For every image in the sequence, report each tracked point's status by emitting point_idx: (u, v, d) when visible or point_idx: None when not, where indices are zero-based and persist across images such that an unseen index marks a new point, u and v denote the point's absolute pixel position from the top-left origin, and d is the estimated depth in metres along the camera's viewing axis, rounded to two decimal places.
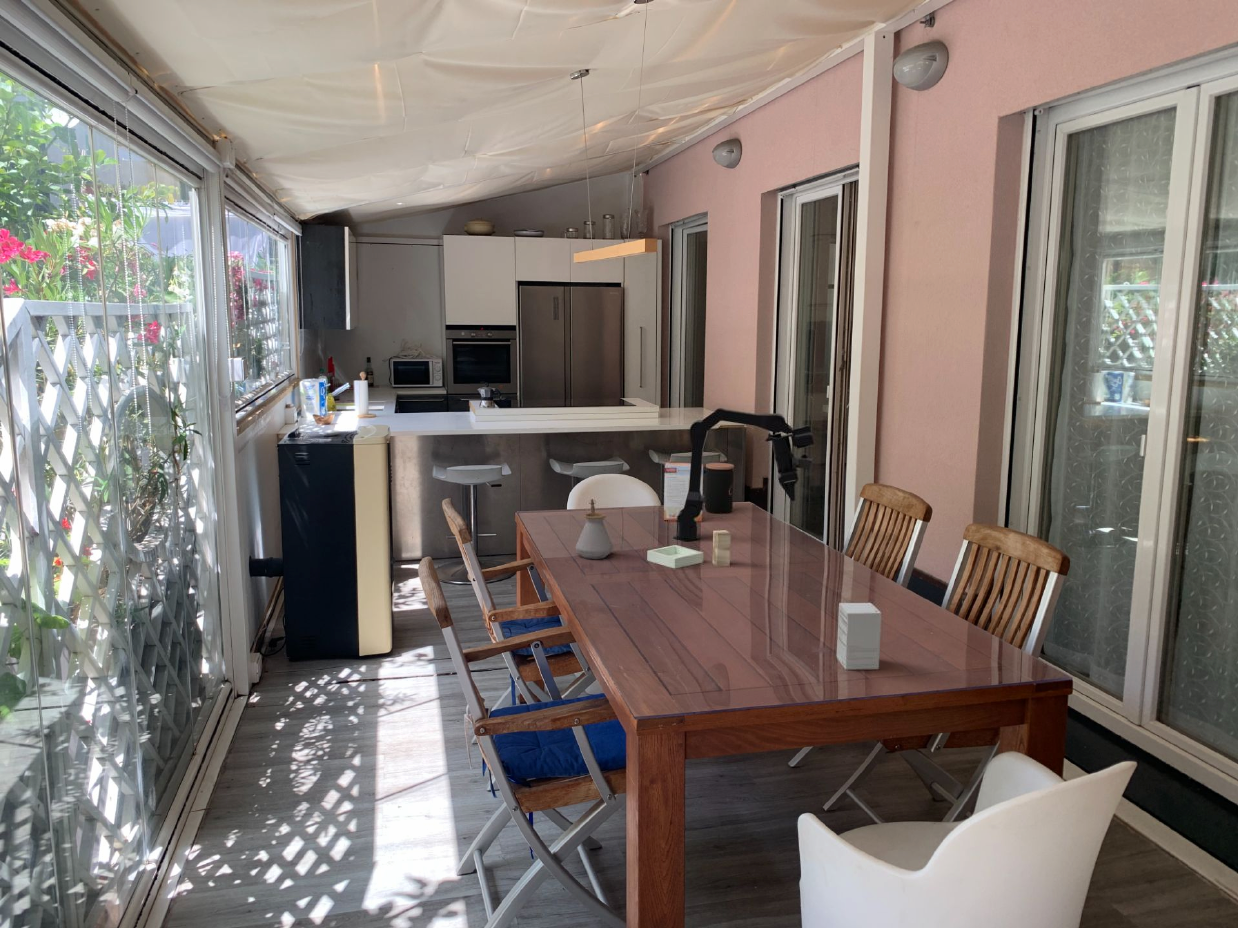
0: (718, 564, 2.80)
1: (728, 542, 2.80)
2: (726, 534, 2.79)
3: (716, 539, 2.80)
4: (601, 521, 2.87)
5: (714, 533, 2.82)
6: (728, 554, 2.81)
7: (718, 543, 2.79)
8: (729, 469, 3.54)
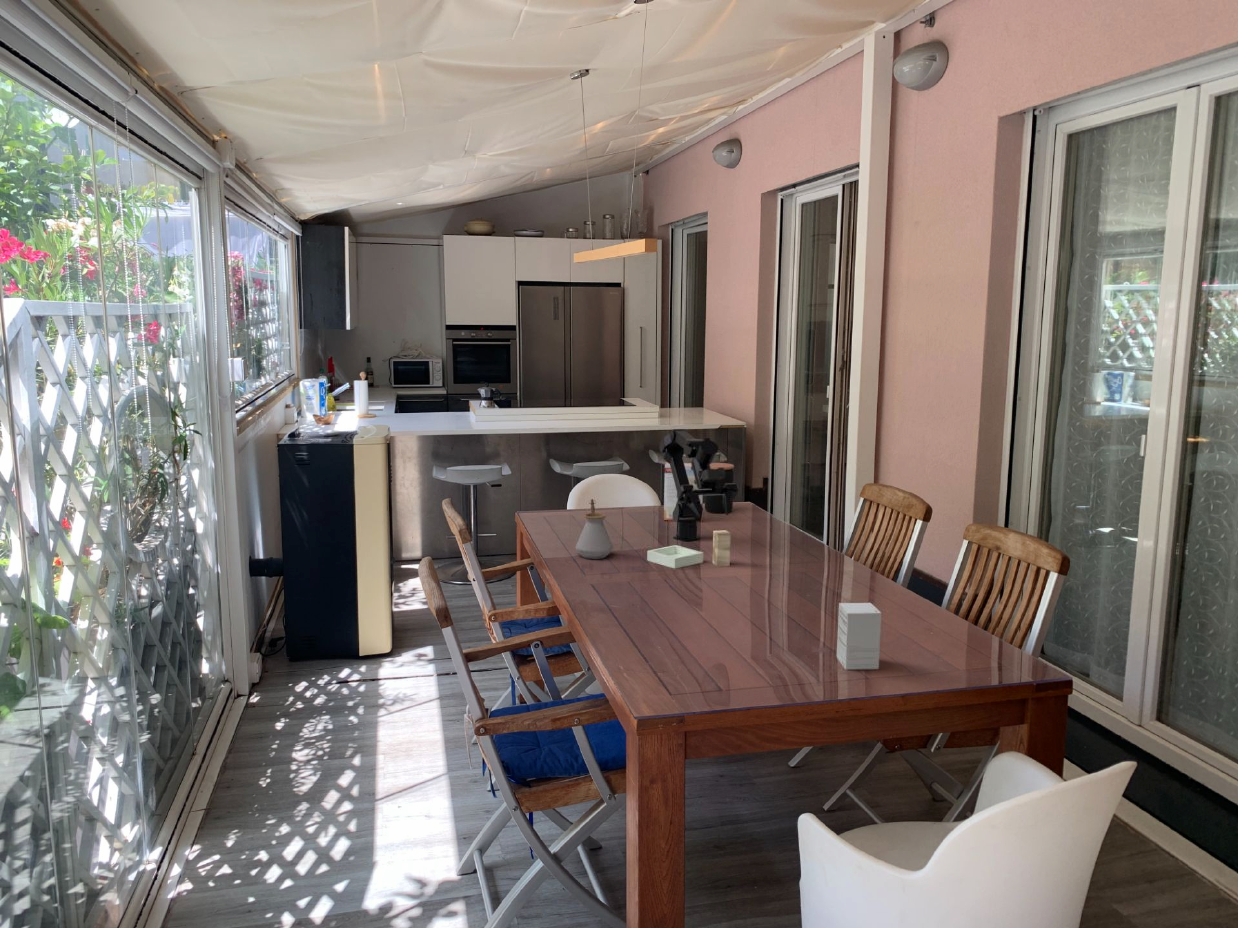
0: (718, 564, 2.80)
1: (728, 542, 2.80)
2: (726, 534, 2.79)
3: (716, 539, 2.80)
4: (601, 521, 2.87)
5: (714, 533, 2.82)
6: (728, 554, 2.81)
7: (718, 543, 2.79)
8: (729, 469, 3.54)
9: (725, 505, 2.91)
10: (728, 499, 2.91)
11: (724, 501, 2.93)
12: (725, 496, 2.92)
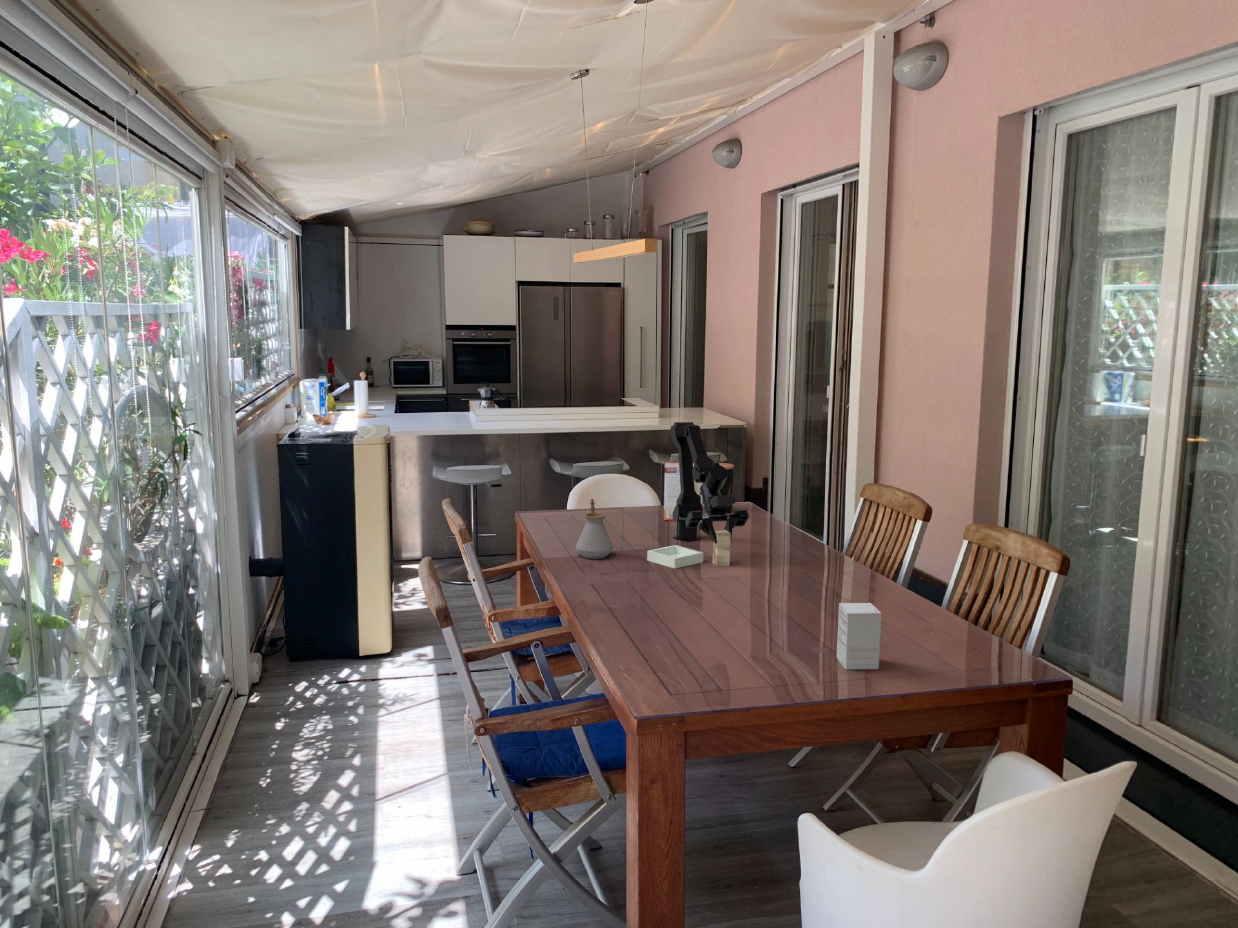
0: (718, 564, 2.80)
1: (728, 542, 2.80)
2: (726, 534, 2.79)
3: None
4: (601, 521, 2.87)
5: None
6: (728, 554, 2.81)
7: (718, 543, 2.79)
8: (729, 469, 3.54)
9: None
10: (730, 526, 2.82)
11: (726, 528, 2.84)
12: (727, 523, 2.84)
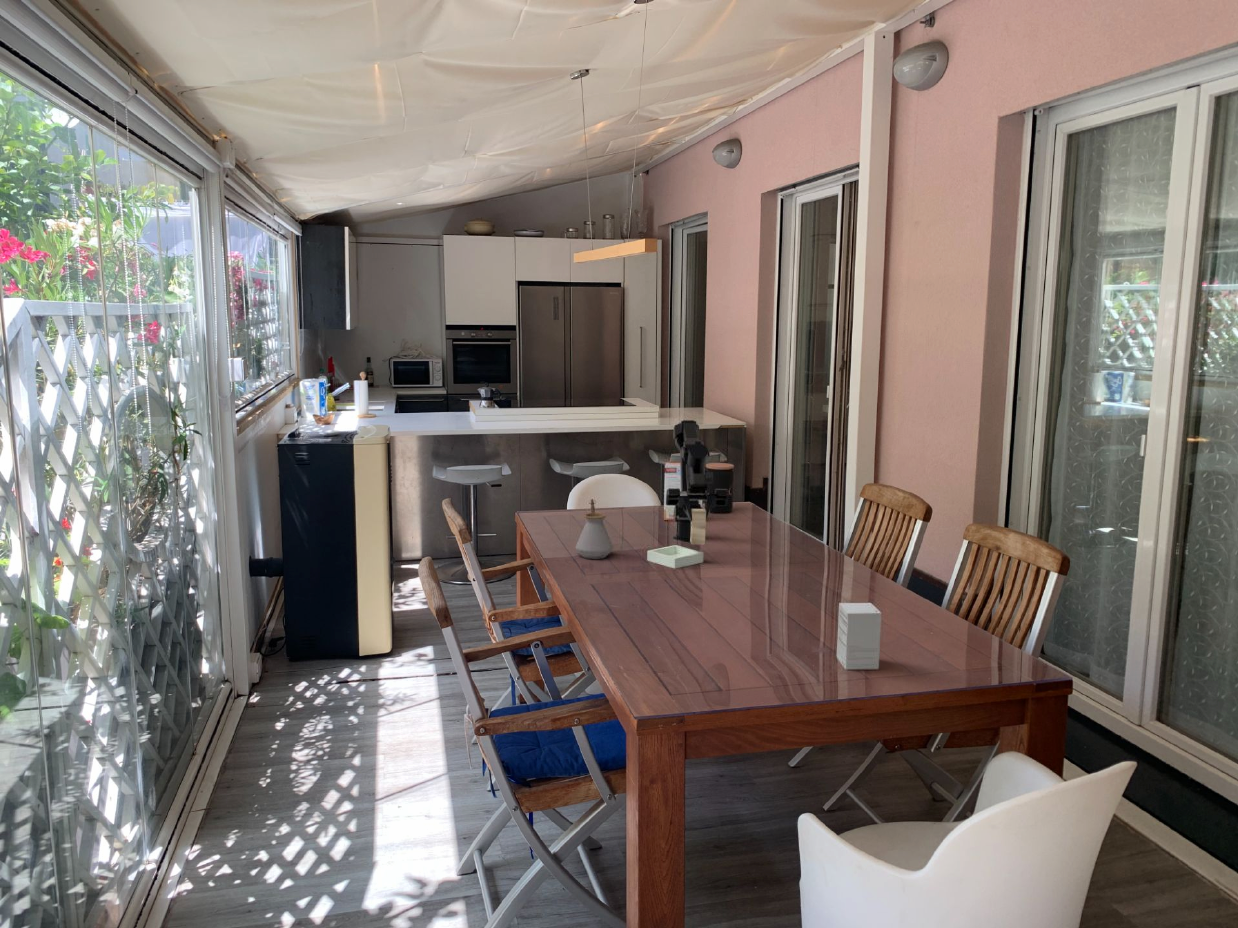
0: (693, 542, 2.81)
1: (703, 520, 2.80)
2: (701, 512, 2.79)
3: (692, 517, 2.80)
4: (601, 521, 2.87)
5: (691, 511, 2.82)
6: (703, 533, 2.80)
7: (693, 521, 2.80)
8: (729, 469, 3.54)
9: None
10: (708, 505, 2.82)
11: (705, 507, 2.84)
12: (706, 502, 2.83)
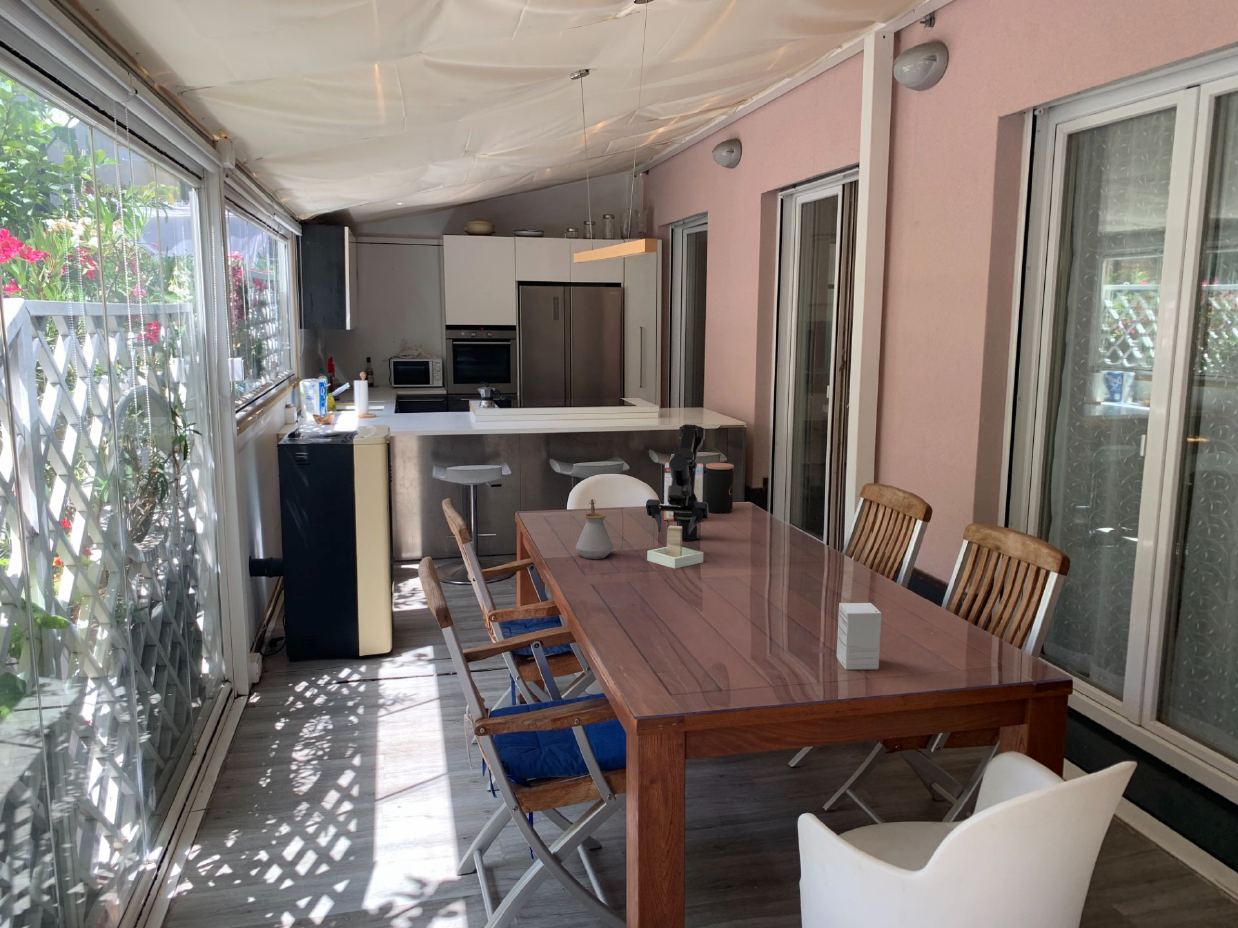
0: None
1: (678, 538, 2.82)
2: (676, 530, 2.81)
3: None
4: (601, 521, 2.87)
5: None
6: (678, 550, 2.82)
7: (668, 538, 2.82)
8: (729, 469, 3.54)
9: None
10: (692, 518, 2.83)
11: None
12: (692, 514, 2.84)
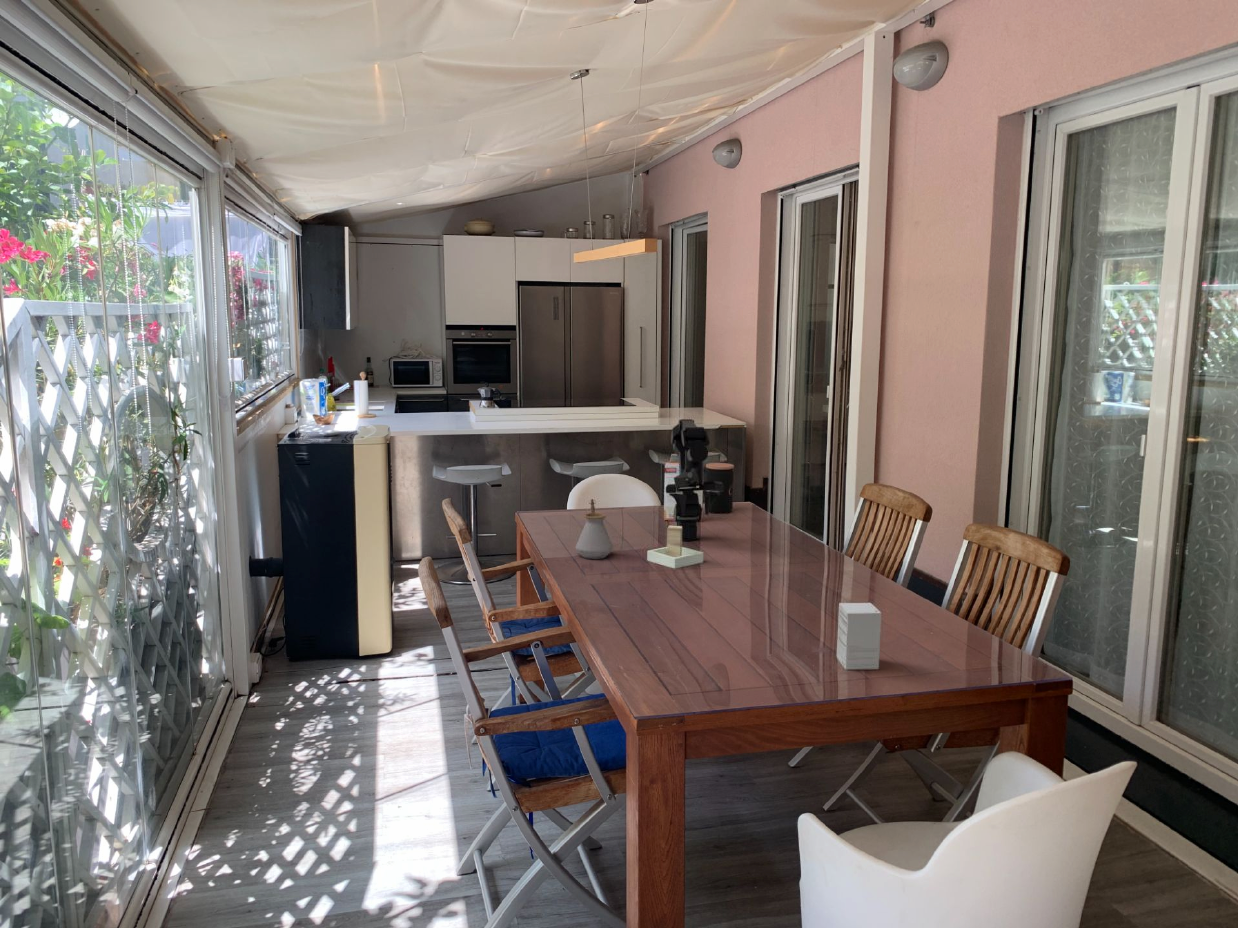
0: None
1: (678, 538, 2.82)
2: (676, 530, 2.81)
3: None
4: (601, 521, 2.87)
5: None
6: (678, 550, 2.82)
7: (668, 538, 2.82)
8: (729, 469, 3.54)
9: None
10: (706, 499, 2.91)
11: None
12: None
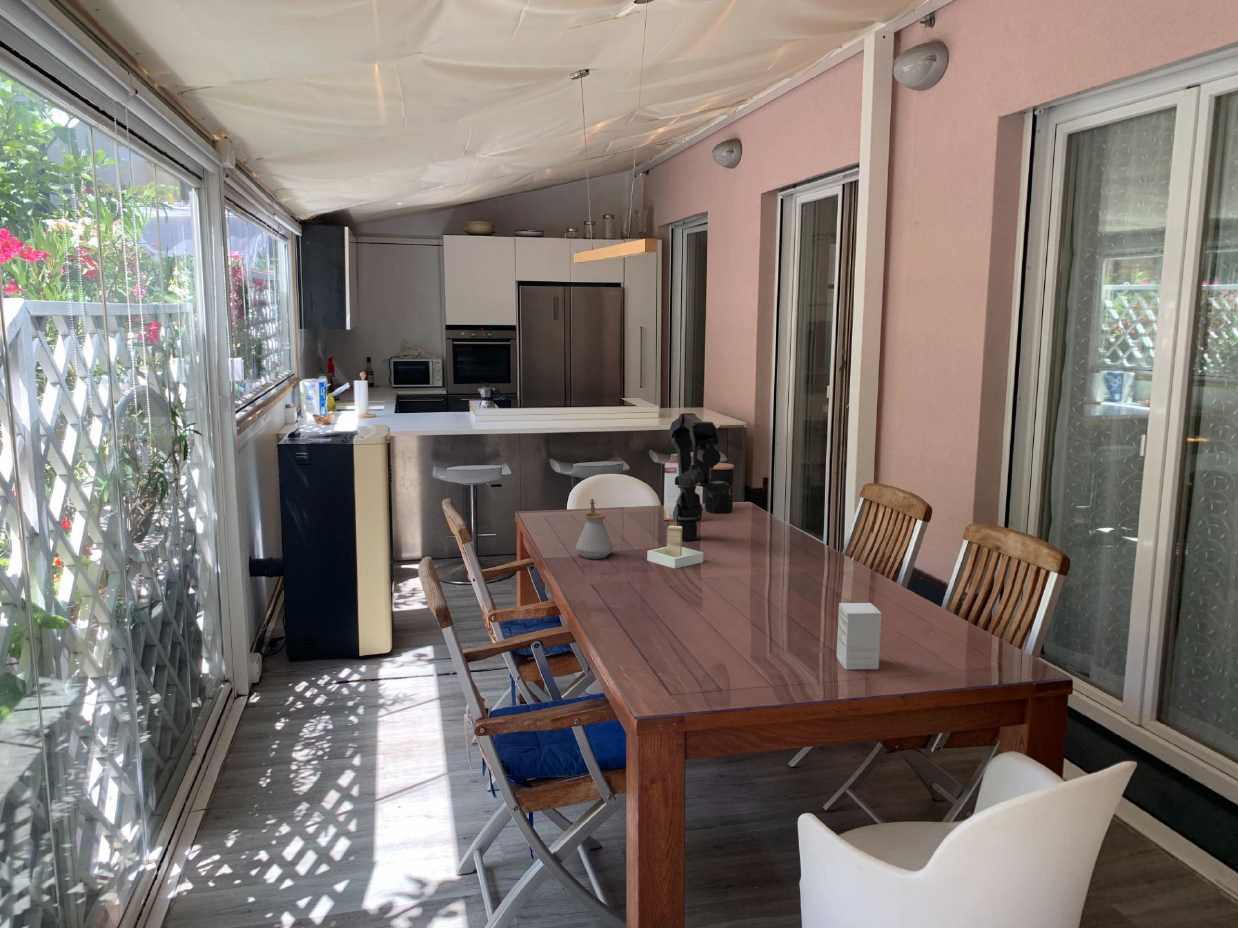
0: None
1: (678, 538, 2.82)
2: (676, 530, 2.81)
3: None
4: (601, 521, 2.87)
5: None
6: (678, 550, 2.82)
7: (668, 538, 2.82)
8: (729, 469, 3.54)
9: None
10: (710, 499, 2.91)
11: None
12: None
